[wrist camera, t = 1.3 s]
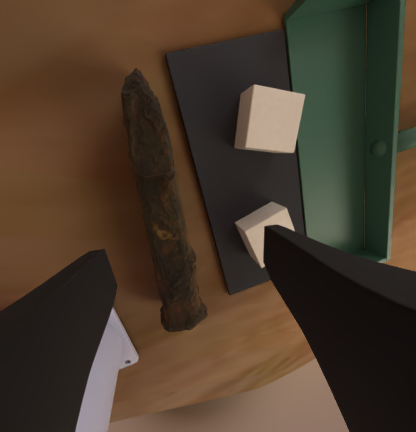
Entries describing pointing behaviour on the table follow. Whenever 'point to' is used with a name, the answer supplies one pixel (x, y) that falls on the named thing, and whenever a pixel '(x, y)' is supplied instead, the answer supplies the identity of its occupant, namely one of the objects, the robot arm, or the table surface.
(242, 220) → the beige square block
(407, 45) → the table surface
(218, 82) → the desk mat
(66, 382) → the robot arm
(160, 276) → the dark brown rough bar
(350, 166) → the dustpan
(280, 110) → the beige rectangular prism
